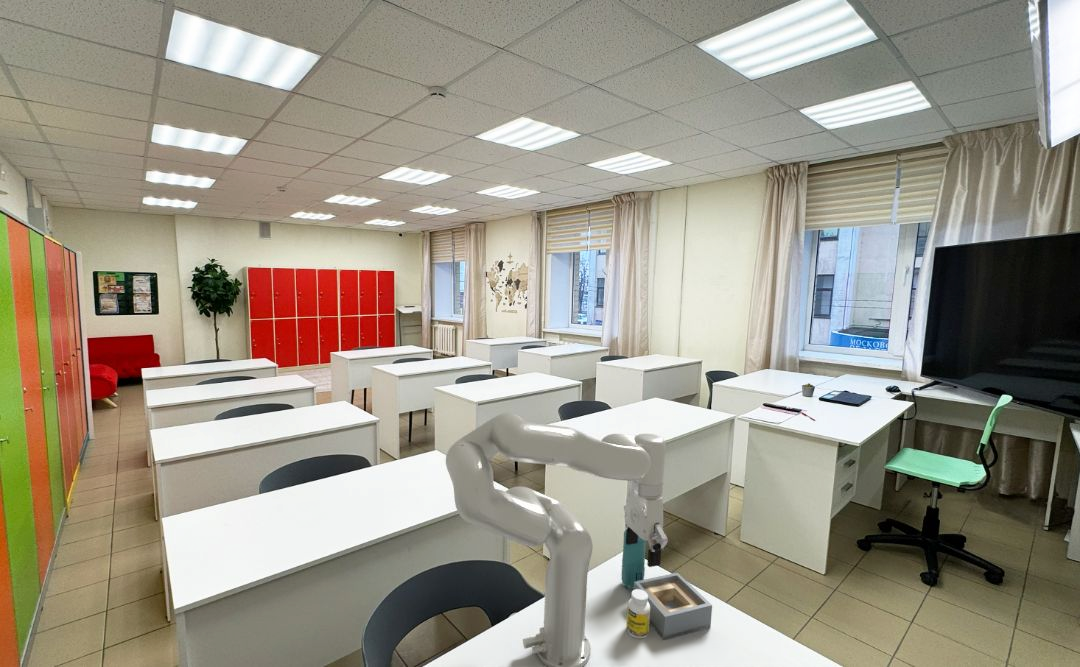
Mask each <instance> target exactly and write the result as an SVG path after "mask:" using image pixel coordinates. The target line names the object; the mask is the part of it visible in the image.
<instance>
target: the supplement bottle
mask: <svg viewBox="0 0 1080 667" xmlns="http://www.w3.org/2000/svg"><path fill="white" fill-rule="evenodd" d="M649 620H650V604H649V602H648V594H647V593H646V592H645V591H643V590H640V589H635V590H634V589H633V590H632V591H631V598H630V599H629V600H628V602H627V615H626V630H627V633H628V634H629V635H630V636H631V637H633V638H636V639H644V638H645V639H646V637H647V636H648V635H649V631H650V623H649Z"/></svg>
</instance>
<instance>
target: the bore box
mask: <svg viewBox="0 0 1080 667" xmlns="http://www.w3.org/2000/svg"><path fill="white" fill-rule="evenodd" d="M635 589H640V590H643V591H645V592H646V593H647V594H648V602H649V604H650V620H649V625H651V627H652V628H653V629H654V630H655V632H656V633H657V634H658V635H659V636H660V637H661V639H662V640H663V641H665V640H668V639H672V638H676V637H680V636H684V635H688V634H692V633H694V632H700V631H703V630H707V629H711V628H712V627H711V625H712V614H713V604H712V603H711V602H709V601H708V599H706V597H704V596H703V595H702V594H701V593H700V592H699V591H698V590H697V589H696V588H694V586H693V585H692V584H691V583H689V582H688V581H687V580H686V579H685V578H684V577H683V576H682V575H681V574H680V573H678V572H673V573H669V574H664V575H660V576H655V577H650V578H646V579H645V578H644V580H640V581H636V582H634V588H633V590H635Z"/></svg>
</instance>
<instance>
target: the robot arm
mask: <svg viewBox="0 0 1080 667" xmlns="http://www.w3.org/2000/svg"><path fill="white" fill-rule="evenodd" d="M666 447H667V446H666V440H665V439H664V438H663V437H662V436H660V435H657V434H653V433H640V434H637V435H634V434H624V433H611V434H608V435H606V436H604V437H603V438H602V439H597V438H595V437H592V436H590V435H587V434H586V433H584V432H582V431H580V430H577V429H576V428H575V429H574V428H572V427H568V426H559V425H554V424H548V423H547V424H545V423H540V422H539V423H538V422H532V421H527V420H525V419H523V418H522V417H521V416H520V415H518V414H517V413H514V412H510V411H509V412H502V413H501V414H500V413H499V414H498V415H495V416H494V417H492V418H490V419H489V420H487V421H486V422H484V423H483V424H481V425H479V426H478V427H476V428H475V429H474V430H472V431H471V432H469V433H467V434H466V435H464V436H463V437H461V438H459V439H458V440H456V442H454V443H453V444H452V445H450V448H449V449H448V451H447V453H446V456H445V466H446V470H447V473H448V475H449V477H450V481H451V483H452V487H453V494H454V495H453V497H454V498H453V499H454V504H455V509H456V511H457V512H458V515H459V516H460V517H461V518H462V520H463V521H465V522H466V523H468V524H470V525H473V526H475V527H477V528H481V529H482V530H484V531H488V532H491V533H493V534H495V535H497V536H500V537H502V538H504V539H507V540H510V541H513V542H515V543H517V544H520V545H522V546H525V547H539V546H541V545H543V544H544V545H545V547H546V548H547V550H548V553H549V562H548V564H547V566H546V567H547V568H546V570H545V581H544V614H543V627H540V628H539V632H538V633H536V634H535V636H530V637H525V638H523V639H522V645H523V649H524V650H525V649H529V648H531V652H532V655H536V654H537V656H538V658H539V660H540V661H541V662H542V664H544V665H545V666H547V667H583V666H585V665H586V664H587V663H588V662H589V660H590V656H591V649H592V648H591V644H590V641H589V639H588V638H587V636H586V635H585V634H586V633H585V631H586V612H587V611H586V610H587V609H586V608H587V591H588V588H587V587H588V573H589V572H588V571H589V566H590V561H591V558H592V554H593V540H592V537H591V535H590V534H591V533H589V531H588V529H587V528H586V526H585V525H584V524H583V522H581V520H580V519H579V518H578V517H577V516H576V515H575V514H574V513H573V511H571V510H570V508H569V507H567V506H566V505H565V504H564V503H562V502H561V501H560V500H557V499H555V498H552V497H550V496H549V495H548V496H547V495H546V494H543V493H541V492H538V491H536V490H535V489H532V488H530V487H527V486H521V485H519V486H514V487H511V488H509V489H507V490H501V489H498V488H495V485H494V469H493V467H492V464H491V462H490V461H492V460H493V459H495V458H496V457H498V456H499V455H500V454H501V455H502V456H503V457H505V458H506V459H507V460H510V461H514V462H520V463H528V464H529V463H530V464H539V465H550V466H555V467H556V466H557V467H563V468H568V469H570V470H571V469H572V470H575V471H577V472H581V473H584V474H585V473H586V474H588V475H593V476H595V477H600V478H604V479H609V480H616V481H617V480H618V481H630V486H629V488H628V491H627V497H626V503H625V505H623V511H624V522H625V527H626V529H625V530H626V544H627V545H630V544H636V543H638V536H639V537H640V538H642V539H643V540H645V541H647V543H648V545H649V549H648V551H647V563H646V564H647V567H649V568H653V567H657V566H660V565H661V559H662V558H661V557H662V556H661V555H662V551H664V549H665V548H666V545H667V544H668V542H669V541H668V540H669V539H668V537H667V535H666V533H665V532H664V504H663V503H664V502H663V497H662V496H663V492H664V491H663V489H664V475H665V474H664V472H665V459H666ZM653 540H655V541H656V543H655V544H654V541H653Z"/></svg>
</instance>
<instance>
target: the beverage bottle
mask: <svg viewBox="0 0 1080 667" xmlns="http://www.w3.org/2000/svg"><path fill="white" fill-rule="evenodd" d="M622 548H623V549H622V557H621V559H622V560H621V571H620V572H621V575H620V576H621V582H622V583H623V584H624V585H625V586H626V587H627V588H628V587H629V588H631V589H634V582H636V581H640V580H645V570H646V566H645V564H646V563H645V561H646V560H645V558H646V550H647V549H646V541H645V540H643V539H642V538H640V537H639V536H638V543H636V544H630V545H627V544H626V529H625V530H624V531H623V545H622Z"/></svg>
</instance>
